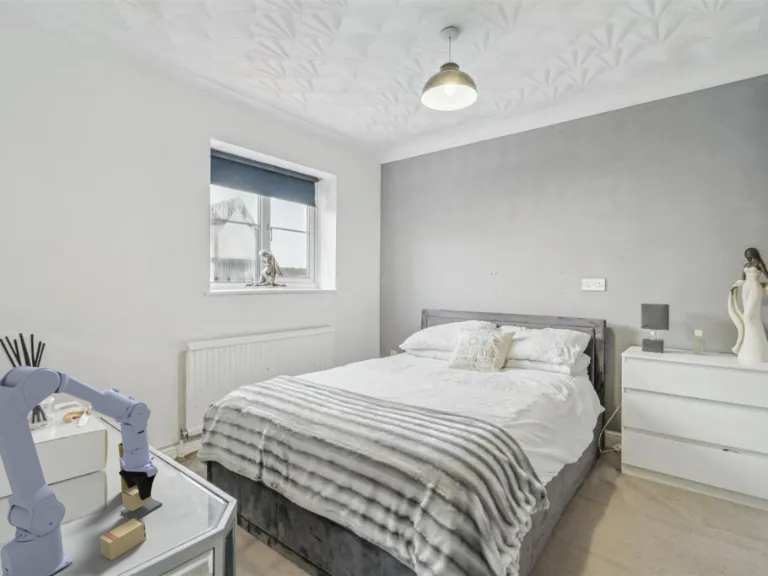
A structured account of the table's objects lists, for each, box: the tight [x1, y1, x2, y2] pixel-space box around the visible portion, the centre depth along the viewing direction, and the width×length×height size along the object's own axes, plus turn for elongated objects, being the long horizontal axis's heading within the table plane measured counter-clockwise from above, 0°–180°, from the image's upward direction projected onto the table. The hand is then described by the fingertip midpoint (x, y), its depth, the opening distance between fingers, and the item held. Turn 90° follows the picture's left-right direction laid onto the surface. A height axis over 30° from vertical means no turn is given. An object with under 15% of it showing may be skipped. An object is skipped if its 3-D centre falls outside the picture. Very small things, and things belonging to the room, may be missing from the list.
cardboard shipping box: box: [99, 518, 147, 562], centre depth 90 cm, size 8×4×4 cm, turn 150°
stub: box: [121, 485, 153, 511], centre depth 103 cm, size 5×4×4 cm
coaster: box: [120, 498, 163, 520], centre depth 104 cm, size 7×7×1 cm
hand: (140, 495), depth 104 cm, fingers closed on stub, 4 cm apart
